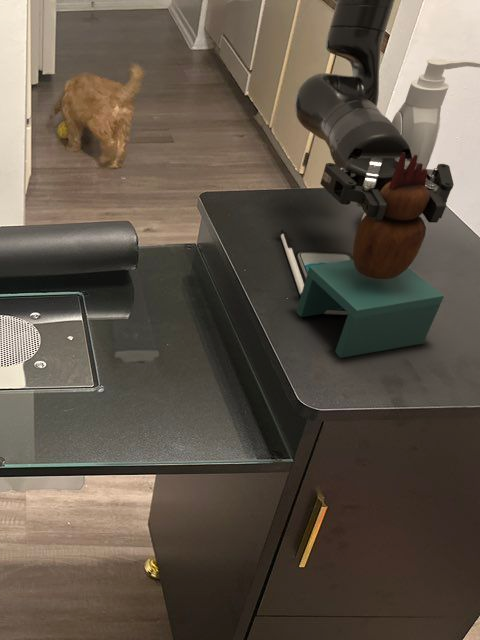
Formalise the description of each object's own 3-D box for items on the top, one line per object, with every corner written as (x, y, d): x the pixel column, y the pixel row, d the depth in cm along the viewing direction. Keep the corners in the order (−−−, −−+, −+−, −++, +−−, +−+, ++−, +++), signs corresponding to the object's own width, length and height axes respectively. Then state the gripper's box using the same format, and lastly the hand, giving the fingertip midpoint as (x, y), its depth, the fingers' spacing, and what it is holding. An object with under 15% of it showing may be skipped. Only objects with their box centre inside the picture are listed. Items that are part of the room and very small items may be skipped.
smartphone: (349, 253, 104) (378, 313, 93) (347, 258, 105) (376, 318, 93) (296, 251, 105) (319, 310, 94) (295, 256, 106) (317, 315, 94)
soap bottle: (424, 254, 103) (495, 78, 87) (365, 250, 105) (424, 76, 89) (408, 212, 113) (470, 46, 97) (354, 209, 114) (406, 45, 99)
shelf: (373, 299, 96) (390, 253, 91) (423, 343, 88) (444, 295, 84) (295, 312, 94) (309, 266, 90) (340, 358, 87) (357, 310, 82)
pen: (284, 233, 110) (286, 227, 109) (309, 304, 95) (311, 297, 95) (278, 233, 110) (280, 226, 109) (301, 304, 95) (303, 297, 95)
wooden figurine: (348, 282, 85) (390, 160, 75) (342, 257, 89) (380, 138, 79) (412, 287, 83) (463, 163, 74) (402, 261, 88) (449, 141, 78)
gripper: (314, 120, 90) (348, 181, 77) (439, 119, 87) (496, 182, 75) (299, 177, 94) (329, 243, 82) (417, 178, 92) (467, 246, 80)
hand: (408, 214), depth 78 cm, fingers closed on wooden figurine, 5 cm apart
